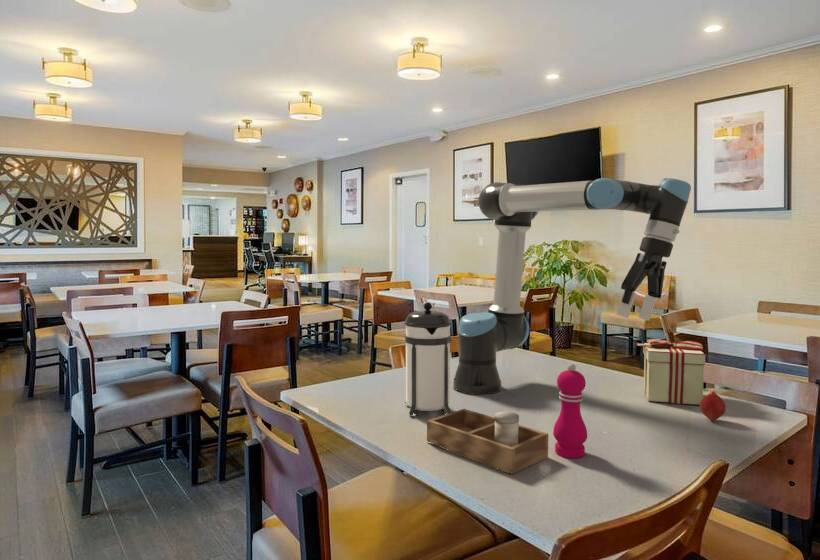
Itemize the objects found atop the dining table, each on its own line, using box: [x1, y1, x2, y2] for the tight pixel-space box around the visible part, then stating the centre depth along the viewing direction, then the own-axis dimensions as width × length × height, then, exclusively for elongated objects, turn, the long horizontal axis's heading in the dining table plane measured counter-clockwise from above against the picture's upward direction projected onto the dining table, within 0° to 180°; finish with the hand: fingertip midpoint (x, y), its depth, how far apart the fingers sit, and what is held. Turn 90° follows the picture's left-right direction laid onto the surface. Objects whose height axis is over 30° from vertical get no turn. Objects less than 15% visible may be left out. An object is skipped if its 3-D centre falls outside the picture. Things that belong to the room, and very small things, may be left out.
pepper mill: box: [552, 363, 588, 459], centre depth 119 cm, size 7×7×20 cm
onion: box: [699, 390, 727, 422], centre depth 141 cm, size 6×6×8 cm
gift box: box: [636, 338, 706, 406], centre depth 163 cm, size 17×18×17 cm
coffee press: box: [403, 301, 452, 415], centre depth 150 cm, size 17×16×30 cm
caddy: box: [426, 408, 549, 475], centre depth 122 cm, size 24×13×9 cm, turn 43°
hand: (633, 318), depth 143 cm, fingers open, 13 cm apart
